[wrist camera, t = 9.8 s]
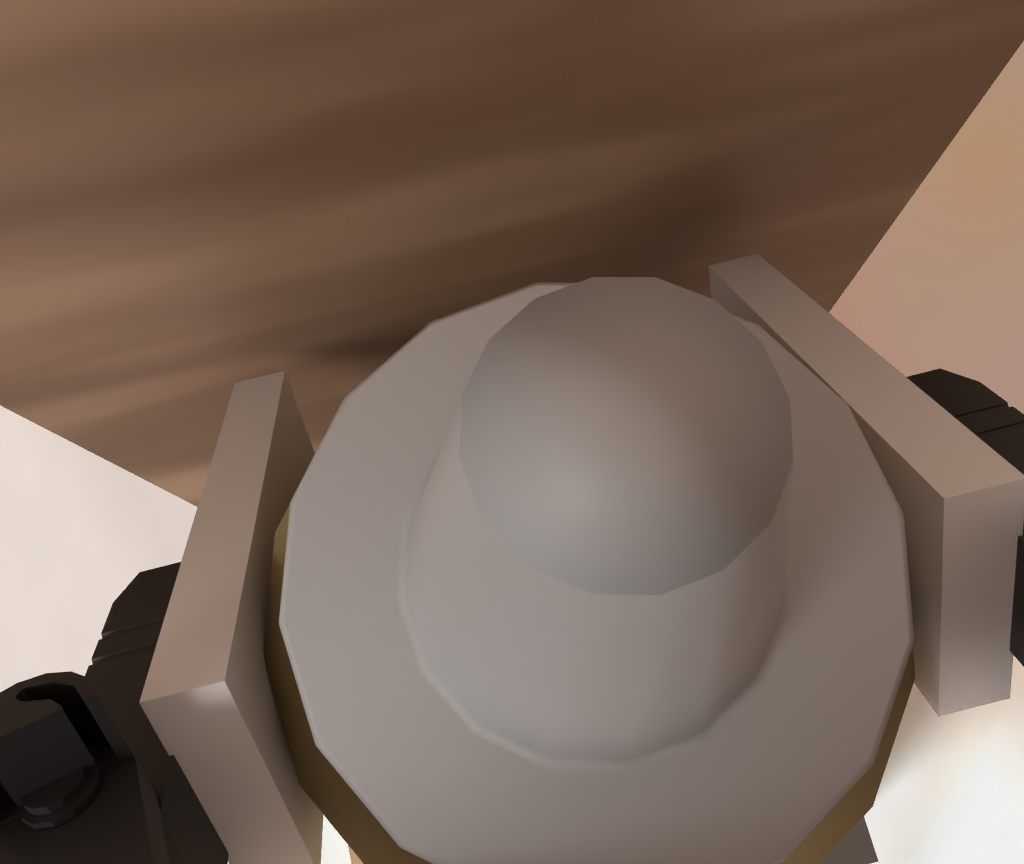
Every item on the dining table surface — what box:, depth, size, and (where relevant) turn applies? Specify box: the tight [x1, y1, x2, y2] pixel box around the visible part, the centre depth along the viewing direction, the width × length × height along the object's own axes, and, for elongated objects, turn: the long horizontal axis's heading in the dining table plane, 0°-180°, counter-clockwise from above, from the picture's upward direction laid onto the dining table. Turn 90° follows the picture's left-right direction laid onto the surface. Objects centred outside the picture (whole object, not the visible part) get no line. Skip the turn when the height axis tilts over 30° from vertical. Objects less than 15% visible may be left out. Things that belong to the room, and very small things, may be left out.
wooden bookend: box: [0, 0, 1024, 864], centre depth 18 cm, size 14×14×26 cm
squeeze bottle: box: [263, 277, 915, 864], centre depth 12 cm, size 8×8×18 cm
